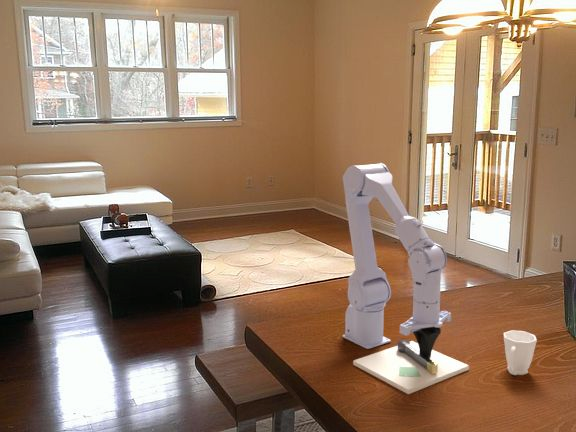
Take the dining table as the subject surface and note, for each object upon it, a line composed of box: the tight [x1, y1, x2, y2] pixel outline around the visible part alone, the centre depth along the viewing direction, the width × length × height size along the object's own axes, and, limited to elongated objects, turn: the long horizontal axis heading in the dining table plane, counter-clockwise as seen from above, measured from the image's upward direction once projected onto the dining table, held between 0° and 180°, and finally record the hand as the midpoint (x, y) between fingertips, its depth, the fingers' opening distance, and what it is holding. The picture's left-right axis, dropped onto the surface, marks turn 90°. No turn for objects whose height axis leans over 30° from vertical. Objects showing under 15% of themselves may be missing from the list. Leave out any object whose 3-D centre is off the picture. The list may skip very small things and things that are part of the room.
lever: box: [397, 339, 438, 374], centre depth 131 cm, size 14×3×2 cm, turn 19°
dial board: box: [352, 340, 470, 395], centre depth 130 cm, size 17×19×1 cm
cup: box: [503, 329, 538, 376], centre depth 126 cm, size 7×10×8 cm
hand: (425, 357), depth 130 cm, fingers closed, pressing on lever
